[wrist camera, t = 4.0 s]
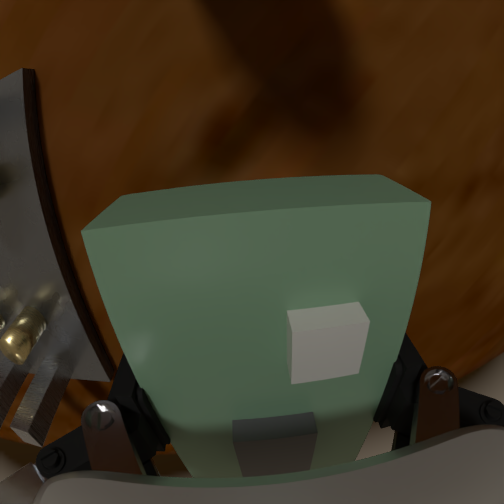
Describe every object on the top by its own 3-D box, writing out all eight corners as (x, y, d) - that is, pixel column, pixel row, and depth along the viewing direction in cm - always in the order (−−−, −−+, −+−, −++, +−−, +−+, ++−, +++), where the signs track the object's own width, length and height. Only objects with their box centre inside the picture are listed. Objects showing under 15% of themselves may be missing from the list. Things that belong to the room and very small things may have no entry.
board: (380, 174, 8) (453, 214, 5) (340, 425, 13) (355, 480, 10) (121, 195, 7) (62, 248, 5) (199, 440, 13) (196, 497, 10)
